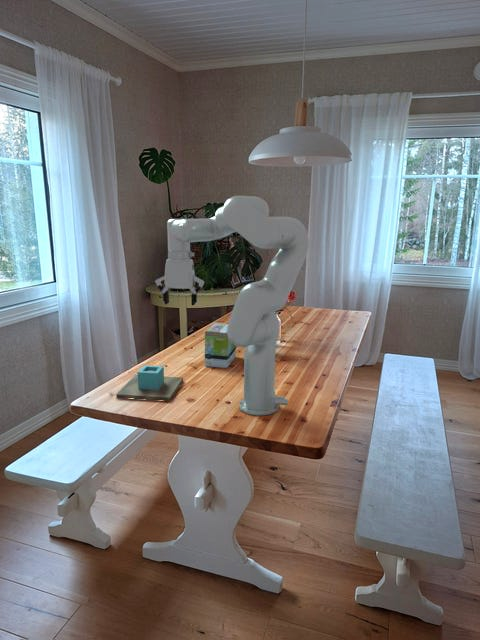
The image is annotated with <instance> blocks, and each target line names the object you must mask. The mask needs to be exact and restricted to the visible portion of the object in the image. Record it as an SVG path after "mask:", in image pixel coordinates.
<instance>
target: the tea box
mask: <svg viewBox="0 0 480 640" xmlns="http://www.w3.org/2000/svg"><path fill="white" fill-rule="evenodd" d="M227 326H228V323H224V322H223V323H221V322H214V323H212V325H210V326H209V327H208V328H207V329H206V330H204V366H205V367H211V368H212V367H213V368H221V369H224V368H225V369H227V368H228V367H229V366H230V365H231V363H232V362H233V361H234V359H235V358H236V353H237V346H235V345H233V344H232V343H231V342H230V340H229V338H228V334H227Z"/></svg>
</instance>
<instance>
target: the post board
mask: <svg viewBox="0 0 480 640" xmlns="http://www.w3.org/2000/svg"><path fill="white" fill-rule="evenodd" d="M150 372H155V371H153V370H150ZM183 382H184V377H180V376H179V377H178V376H177V377H176V376H164V383H163V384H162V386H161V387H160V388H159V390H149V389H138V374H135V375H133V376H132V377H131V378H130V380H128V381H127V382H126V384H125V385H124V386H122V387H121V389H120V390H119V391H118V392H117V393H116V394H115V396H116V399H117V398H134V399H146V400H145V401H149V400H164V401H163V402H165V401H170V400H172V399H173V398H174V396H175V394H176V393H177V391H178V390H179V388H180V387H181V386H182V384H183ZM181 383H182V384H181ZM179 386H180V387H179ZM177 389H178V390H177ZM175 392H176V393H175ZM173 395H174V396H173ZM172 397H173V398H172ZM171 398H172V399H171ZM170 402H171V401H170Z"/></svg>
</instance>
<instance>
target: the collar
mask: <svg viewBox="0 0 480 640" xmlns="http://www.w3.org/2000/svg"><path fill="white" fill-rule="evenodd" d="M164 367H165V366H163V365H145V364H144V365H143V366H142V367H141V368H140V369H139V370H138V371H137V375H138V389H149V390H159V388H160V387H161V386H162V384H163V383H164V377H165V371H164V370H165V368H164ZM150 370H153V371H155V372H150Z"/></svg>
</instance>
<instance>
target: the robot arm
mask: <svg viewBox="0 0 480 640" xmlns="http://www.w3.org/2000/svg"><path fill="white" fill-rule="evenodd" d="M269 215H270V207H269V205H268V203H267V202H266V200H264V199H263V198H261V197H259V196H254V195H252V196H250V195H233V196H231V197H229V198H228V199H227V200H226V201H225V203H224V205H223V206H220V207H218V208H217V210H216V211H215V215H214V216H212V217H210V218H209V217H208V218H170V219H168V221H167V223H166V224H167V259H166V260H165V261H166V262H165V267H164V275H163V276H161V277H159V278H157V279H155V280H154V283H155V284H156V286H157V289H159V290H160V292H161V293H162V298H163V301H162V302H164V305H168V304H169V303H170V293H169V290H170V289H183V290H184V289H185V290H186V289H188V290H190V292H191V293H192V294H191V300H190V301H191V306H195V305H196V303H197V302H198V298H197V296H198V294H197V293H199V292H200V290H201V289H202V288H203V287H204V284H205V281H204V280H202V279H201V278H199V277H197V276H196V274H195V266H194V265H195V264H194V261H193V259H192V257H195V252H192V251H191V243H197V242H211V241H215V240H218V239H222V238H225V237H228V236H230V235H231V234H234V233H237V234H239V236H241V237H243V238H244V239H245V240H246V241H248V242H249V243H250V244H252V245H253V246H254V247H256V248H259V249H264V250H269V249H271V250H272V249H279V250H278V252H277V253H276V254H275V256H274V257H273V258H272V259H271V261H270V263H269V264H268V268H267V271H266V273H265V275H264V276H263V278H262V279H261V280H258V281H253V282H250V283H248V284H246V285H245V286H243V288H242V289H240V291H239V293H238V295H237V298H236V300H235V302H234V306H233V309H232V311H231V314H230V316H229V319H228V322H227V324H228V326H227V334H228V338H229V340H230V342H231V343H232V344H233V345H235V346H236V348H237V347H238V348H245V350H244V356H243V357H244V358H243V359H244V361H243V362H244V365H243V367H244V369H243V374H244V375H243V398H242V399H240V400H239V402H238V408H239V410H240V411H241V412H243V413H245V414H247V415H251V416H267V415H272V414H275V412H277V411H278V410H279V405H281V406H288V405H289V399H288V398H285V396H282V395H281V396H278V395H276V390H275V371H276V369H275V368H276V350H277V342H278V337H279V334H280V333H279V331H280V321H279V318H278V317H277V315H276V314H275V312H277V311H279V310H281V309H283V308H284V307H285V306H286V304H287V301H288V299H289V296H290V294H291V292H292V289H293V288H294V287H293V286H294V285H295V282H296V280H297V277H298V275H299V273H300V270H301V268H302V266H303V265H304V263H305V260H306V257H307V255H308V252H309V247H310V240H309V234H308V230H307V229H306V226H305V225H304V223H302V222H301V221H300V220H299V219H297V218H294V217H291V216H269ZM162 281H164V286H163V285H162V283H161V282H162ZM196 283H197V284H198V286H197V287H195V286H196Z"/></svg>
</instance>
